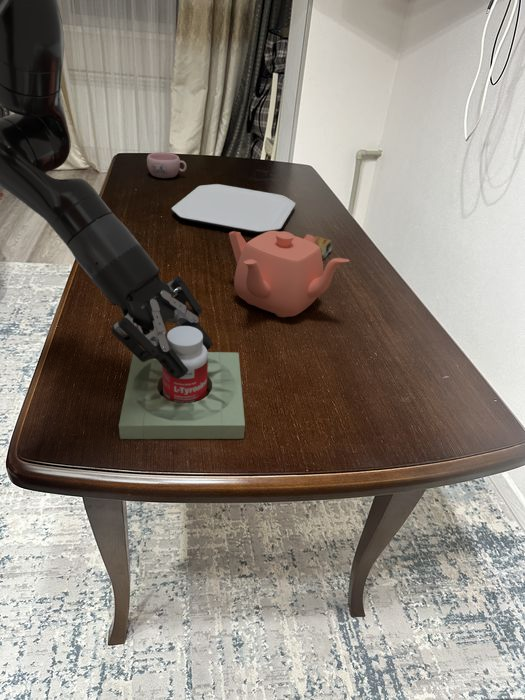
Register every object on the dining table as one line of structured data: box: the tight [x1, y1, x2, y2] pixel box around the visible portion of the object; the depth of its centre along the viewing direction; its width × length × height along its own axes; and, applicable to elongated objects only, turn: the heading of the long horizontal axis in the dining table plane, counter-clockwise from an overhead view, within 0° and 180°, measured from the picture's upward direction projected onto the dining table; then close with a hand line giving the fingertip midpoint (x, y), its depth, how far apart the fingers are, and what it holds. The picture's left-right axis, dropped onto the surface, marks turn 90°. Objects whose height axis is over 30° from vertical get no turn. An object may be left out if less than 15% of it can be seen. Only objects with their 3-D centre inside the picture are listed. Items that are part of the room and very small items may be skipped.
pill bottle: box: [162, 326, 209, 403], centre depth 67 cm, size 6×6×11 cm
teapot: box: [228, 230, 350, 318], centre depth 91 cm, size 18×18×14 cm
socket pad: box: [118, 351, 246, 440], centre depth 70 cm, size 16×16×2 cm
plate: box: [171, 183, 296, 234], centre depth 131 cm, size 29×29×2 cm
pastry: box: [299, 235, 333, 260], centre depth 115 cm, size 9×7×4 cm
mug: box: [146, 151, 187, 179], centre depth 150 cm, size 12×10×6 cm
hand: (195, 361), depth 66 cm, fingers closed on pill bottle, 6 cm apart
